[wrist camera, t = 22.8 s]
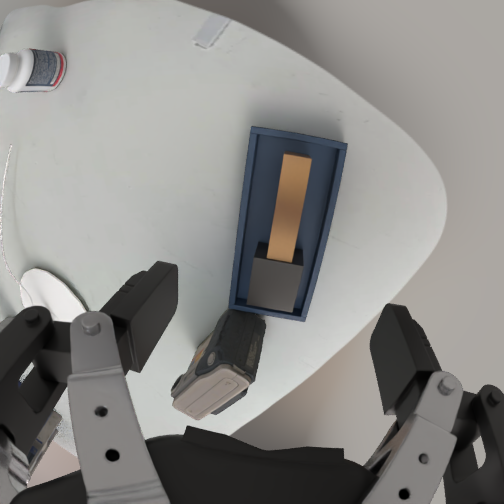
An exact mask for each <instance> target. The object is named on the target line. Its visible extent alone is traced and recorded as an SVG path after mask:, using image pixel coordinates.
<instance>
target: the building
mask: <svg viewBox="0 0 504 504" xmlns="http://www.w3.org/2000/svg"><path fill="white" fill-rule="evenodd" d="M21 384H22V383H21V382H20V381H19V384H18V386H19V387H20V385H21ZM61 419H62V416H60V415H59V414H58V413H57V412H55V411H53V410H52V412H51V414H50V415H49V417H48V419H47V420H46V422H45V424H44V426H43V427H42V429H41V431H40V433H39V435H38V436H37V438H36V440H35V442H34V444H33V446H32V447H31V449H30V451H29V453H28V455H27V459H28V462H29V472H30V476H32V474H33V472H34V471H35V469H36V467H37V465H38V464H39V462H40V460H41V459H42V457H43V455H44V454H45V452H46V450H47V448H48V447H49V445H50V443H51V442H52V440H53V439H54V437H55V435H56V434H57V432H58V430H56V427H57V425H58V424H59V422H60V421H61Z"/></svg>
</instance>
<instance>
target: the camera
mask: <svg viewBox="0 0 504 504" xmlns="http://www.w3.org/2000/svg"><path fill="white" fill-rule="evenodd" d="M265 329H266V324H265V320H262V319H261V318H259V317H258V316H257V315H255V313H251V312H246V311H240V310H235V309H230V308H228V309H227V310H226V311H225V312H224V314H223V315H222V316H221V317H220V319H219V321H218V323H217V325H216V327H215V330H214V331H213V332H212V333H211V334H210V335H209V336H208V337H207V338H206V339H205V340H204V341H203V342H202V344H201V345H200V346H199V347H198V348H197V351H196V353H195V355H194V357H193V359H192V361H191V364H190V366H189V368H188V370H187V372H186V373H185V374H182V375H181V376H179V377H178V379H177V380H176V382H175V383H174V385H173V387H172V389H171V392H172V393H171V396H172V397H173V398H174V401H173V404H172V406H173V407H174V408H175V409H177V410H179V411H181V412H182V413H184V414H186V415H188V416H189V417H191V418H193V419H195V420H200V419H202V418H203V417H205V416H207V415H208V414H214V415H217V414H219V413H220V412H222V411H223V410H225V409H226V408H228V407H229V406H231V405H232V404H234V403H235V402H236V401H238V400H239V399H241V398H242V397H244V396H245V395H246V393H247V390H248V386H249V385H250V384H252V383H253V382H254V381H255V377H256V373H257V369H258V363H259V360H260V354H261V351H262V344H263V337H264V334H265Z"/></svg>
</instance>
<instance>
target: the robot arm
mask: <svg viewBox="0 0 504 504" xmlns="http://www.w3.org/2000/svg"><path fill="white" fill-rule="evenodd" d="M177 304H178V267H177V265H176V264H171V263H166V262H162V261H157V262H156V263H155V264H154V265H153V266H152V267H151V268H150V269H149V270H148V271H141V272H139V273H137V274H135V275H133V276H131V278H130V279H129V280H128V281H127V282H126V283H125V285H123V286H122V287H121V288H120V289H119V291H117V292H116V293H115V294H114V295H113V297H112V298H111V299H110V300H109V301H108V302H107V303H106V304H105V305H104V306H103V307H102V308H101V310H100V311H99V312H98V311H89V312H85V313H82V314H80V315H78V316H77V317H76V318H74V320H73V321H72V322H62V321H53V319H52V316H51V313H50V311H49V310H48V309H47V308H46V307H43V306H31V307H28V308H26V309H24V310H22V311H21V312H20V313H19V314H18V315H17V316H16V317H15V318H14V319H13V320H12V321H11V322H10V323H9V324H8V325H7V326H6V327H5V328H4V329H3V330H2V331H1V332H0V504H430V502H431V500H432V498H433V496H434V494H435V492H436V490H437V488H438V486H439V484H440V482H441V479H442V477H443V480H444V488H445V497H446V504H504V394H503V393H502V392H501V390H500V389H498V388H497V387H495V386H493V385H484V386H483V387H482V388H481V390H480V391H479V392H478V393H477V394H474V393H470V392H466V391H463V388H462V385H461V383H460V381H459V380H458V379H457V378H456V377H455V376H454V375H452V374H450V373H449V372H445V371H442V369H441V367H440V365H439V363H438V360H437V358H436V356H435V354H434V352H433V349H432V347H430V343H429V341H428V340H427V336H426V335H425V332H424V330H423V328H422V327H421V326H420V325H419V324H418V323H417V322H416V321H415V320H413V319H412V317H411V316H410V313H409V311H408V309H407V307H406V306H403V305H396V304H390V303H388V304H386V305H385V307H384V309H383V311H382V313H381V316H380V318H379V320H378V322H377V324H376V327H375V329H374V331H373V333H372V336H371V340H370V352H371V356H372V360H373V364H374V368H375V373H376V376H377V381H378V386H379V391H380V396H381V400H382V406H383V410H384V415H396V417H397V420H396V421H395V422H394V423H393V425H392V426H391V428H390V429H389V431H388V433H387V434H386V436H385V437H384V439H383V440H382V442H381V443H380V445H379V446H378V448H377V449H376V451H375V452H374V454H373V455H372V456H371V458H370V459H369V460H368V462H367V463H366V464H365V465H364V466H361V465H359V464H357V463H355V462H353V461H350V460H347V459H344V449H343V448H321V447H300V448H291V449H282V450H271V451H266V450H262V449H259V448H257V447H254V446H251V445H249V444H247V443H244V442H242V441H239V440H237V439H235V438H232V437H230V436H228V435H225V434H220V433H216V432H212V431H207V430H203V429H199V428H195V427H192V426H188V425H187V427H186V430H185V433H184V435H179V434H176V435H163V436H157V437H153V438H149V439H147V440H145V439H144V436H143V433H142V430H141V427H140V425H139V422H138V419H137V415H136V412H135V409H134V406H133V403H132V399H131V396H130V393H129V389H128V385H127V382H126V378H125V376H126V374H127V373H128V371H129V370H132V371H135V372H138V373H140V372H141V370H142V369H143V367H144V365H145V363H146V362H147V360H148V358H149V356H150V355H151V353H152V351H153V350H154V348H155V346H156V344H157V343H158V341H159V339H160V338H161V336H162V334H163V332H164V331H165V329H166V327H167V326H168V324H169V322H170V321H171V319H172V317H173V316H174V314H175V311H176V308H177ZM31 362H32V363H33V365H34V368H33V369H32V370H31V372H30V373H29V374H28V376H27V377H26V378H25V380H24V381H23V383H22V384H21V385H20V387H19V386H18V384H19V379H20V377H21V375H22V374H23V373H24V371H25V370H26V369H27V367H28V366H29V365H30V363H31ZM66 387H68V397H69V406H70V414H71V421H72V428H73V434H74V439H75V445H76V450H77V455H78V459H79V464H80V468H81V469H80V470H78V471H75V472H72V473H70V474H67V475H65V476H62V477H59V478H56V479H54V480H51V481H48V482H45V483H42V484H39V485H36V486H33V487H30V488H27V482H29V480H30V478H31V476H30V472H29V462H28V459H27V455H28V453H29V451H30V449H31V447H32V446H33V444H34V442H35V440H36V438H37V436H38V435H39V433H40V431H41V429H42V427H43V426H44V424H45V422H46V420H47V419H48V417H49V415H50V414H51V412H52V410H53V409H54V407H55V405H56V404H57V402H58V400H59V399H60V397H61V395H62V394H63V392H64V391H65V389H66ZM480 436H481V437H482V441H483V445H484V449H485V452H486V459H485V462H484V464H483V466H482V467H480V468H479V469H478V465H477V460H476V457H475V452H474V448H473V444H472V443H473V442H474V441H475V440H476V439H478V437H480Z"/></svg>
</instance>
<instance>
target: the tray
mask: <svg viewBox="0 0 504 504" xmlns="http://www.w3.org/2000/svg"><path fill="white" fill-rule="evenodd" d="M347 145H348V144H347V143H343V142H338V141H334V140H329V139H325V138H320V137H315V136H310V135H304V134H299V133H293V132H287V131H281V130H275V129H268V128H261V127H253V126H251V131H250V138H249V145H248V152H247V160H246V167H245V175H244V182H243V190H242V198H241V206H240V214H239V222H238V230H237V238H236V246H235V254H234V263H233V271H232V280H231V289H230V297H229V307H228V308H230V309H235V310H240V311H246V312H251V313H256V314H262V315H267V316H273V317H278V318H284V319H290V320H296V321H302V322H305V320H306V317H307V313H308V310H309V306H310V303H311V299H312V296H313V292H314V289H315V285H316V282H317V278H318V274H319V271H320V267H321V263H322V259H323V255H324V251H325V247H326V243H327V239H328V235H329V231H330V227H331V222H332V218H333V214H334V209H335V205H336V200H337V196H338V191H339V186H340V182H341V177H342V172H343V167H344V161H345V156H346V150H347ZM285 151H288V152H294V153H299V154H305V155H309V156H310V157H311V159H312V162H311V167H310V173H309V178H308V184H307V189H306V194H305V199H304V205H303V210H302V215H301V220H300V225H299V230H298V235H297V239H296V244H295V248H296V249H301V250H303V259H304V268H303V272H302V276H301V281H300V285H299V289H298V293H297V297H296V300H295V304H294V308H293V312H286V311H280V310H275V309H269V308H264V307H258V306H253V305H247V297H248V291H249V284H250V278H251V271H252V265H253V258H254V255H255V251H256V248H257V245H258V242H262V243H268V244H269V241H270V235H271V229H272V223H273V217H274V211H275V205H276V199H277V193H278V187H279V181H280V175H281V169H282V163H283V156H284V152H285Z"/></svg>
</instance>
